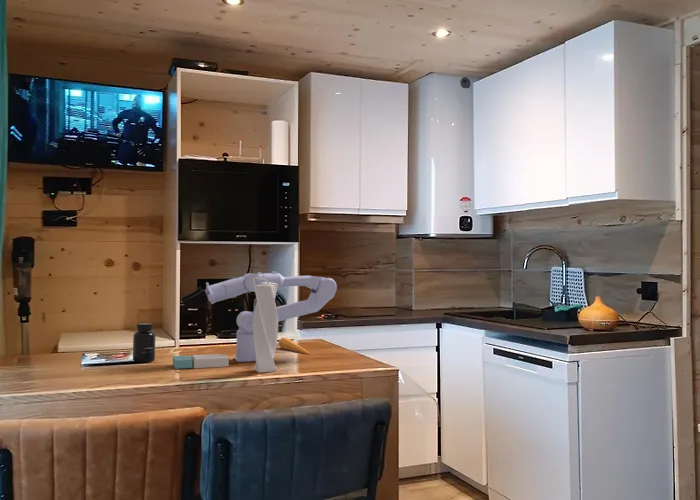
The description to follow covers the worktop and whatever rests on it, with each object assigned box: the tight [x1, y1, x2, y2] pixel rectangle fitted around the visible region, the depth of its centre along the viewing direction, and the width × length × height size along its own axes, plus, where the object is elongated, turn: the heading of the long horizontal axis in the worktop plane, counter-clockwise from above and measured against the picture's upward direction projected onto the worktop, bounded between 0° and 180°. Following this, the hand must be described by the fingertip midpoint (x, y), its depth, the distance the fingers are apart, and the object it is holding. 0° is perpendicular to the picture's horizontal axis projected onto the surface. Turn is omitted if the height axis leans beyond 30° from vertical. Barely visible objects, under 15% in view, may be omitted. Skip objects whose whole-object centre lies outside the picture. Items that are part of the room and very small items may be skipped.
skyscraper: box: [252, 277, 279, 373], centre depth 186 cm, size 8×8×28 cm
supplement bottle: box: [132, 322, 156, 363], centre depth 200 cm, size 7×7×12 cm
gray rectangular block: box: [190, 353, 229, 369], centre depth 194 cm, size 10×8×3 cm
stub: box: [172, 355, 193, 370], centre depth 191 cm, size 5×8×2 cm, turn 21°
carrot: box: [278, 337, 312, 356], centre depth 223 cm, size 20×4×4 cm, turn 38°
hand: (182, 302), depth 198 cm, fingers open, 7 cm apart
